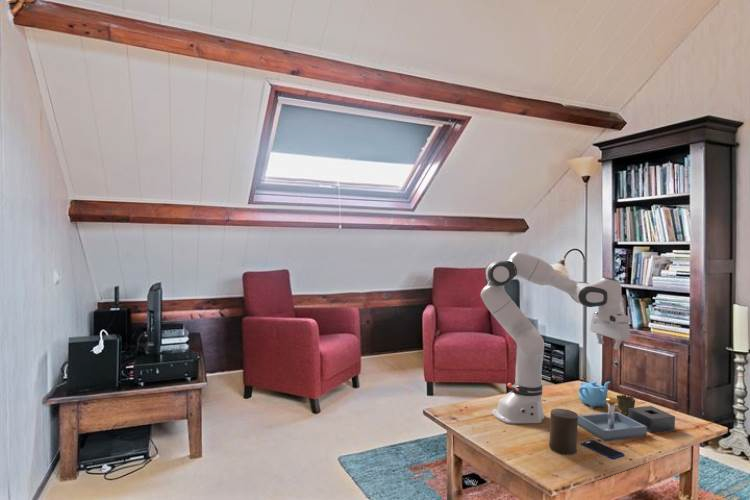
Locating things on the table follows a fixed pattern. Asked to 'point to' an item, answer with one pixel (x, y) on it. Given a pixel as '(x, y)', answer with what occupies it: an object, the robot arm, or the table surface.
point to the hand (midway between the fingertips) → (608, 346)
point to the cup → (625, 403)
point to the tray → (622, 426)
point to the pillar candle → (563, 431)
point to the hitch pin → (611, 411)
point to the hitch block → (653, 419)
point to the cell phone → (603, 449)
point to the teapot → (593, 394)
